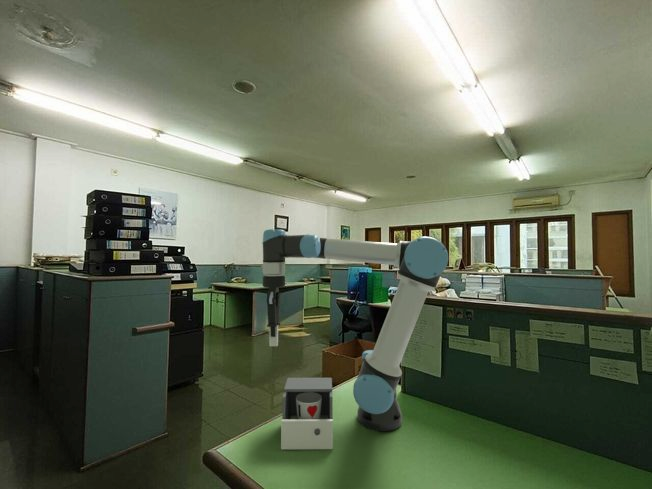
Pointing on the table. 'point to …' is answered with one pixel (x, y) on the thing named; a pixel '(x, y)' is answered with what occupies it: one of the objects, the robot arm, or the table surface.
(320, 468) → the table surface
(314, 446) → the white drawer
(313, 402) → the cup
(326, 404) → the housing
